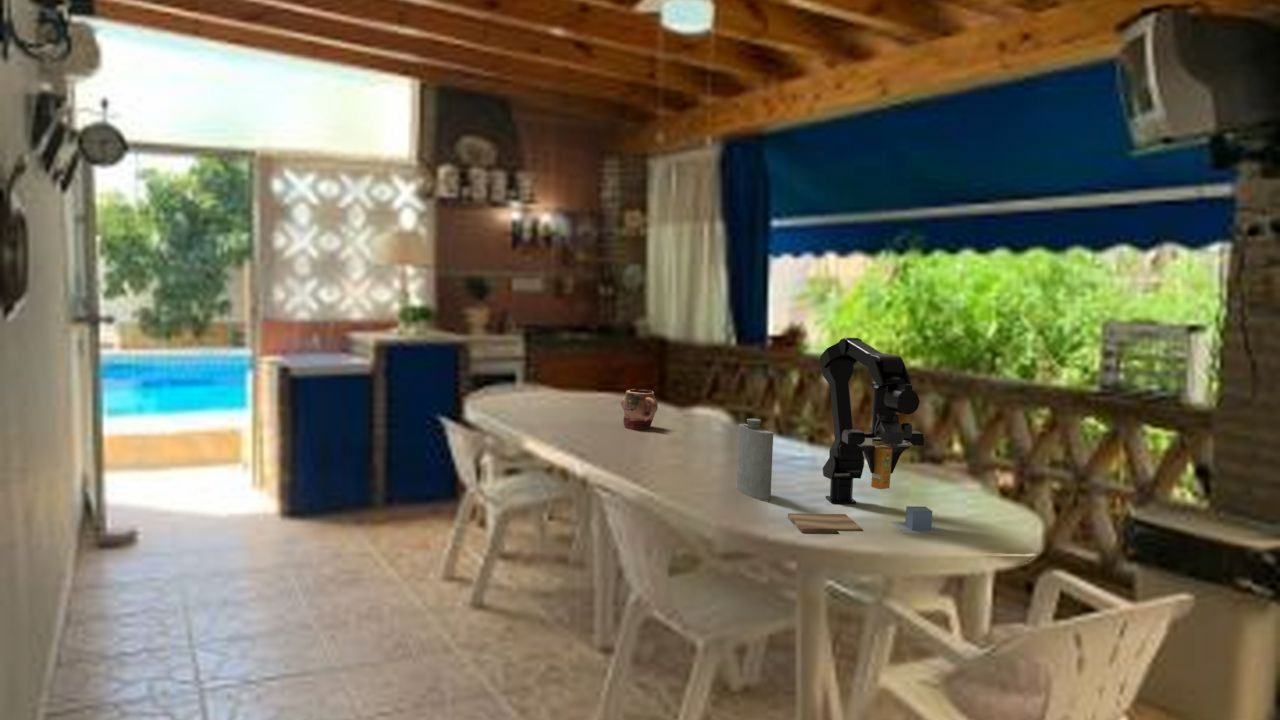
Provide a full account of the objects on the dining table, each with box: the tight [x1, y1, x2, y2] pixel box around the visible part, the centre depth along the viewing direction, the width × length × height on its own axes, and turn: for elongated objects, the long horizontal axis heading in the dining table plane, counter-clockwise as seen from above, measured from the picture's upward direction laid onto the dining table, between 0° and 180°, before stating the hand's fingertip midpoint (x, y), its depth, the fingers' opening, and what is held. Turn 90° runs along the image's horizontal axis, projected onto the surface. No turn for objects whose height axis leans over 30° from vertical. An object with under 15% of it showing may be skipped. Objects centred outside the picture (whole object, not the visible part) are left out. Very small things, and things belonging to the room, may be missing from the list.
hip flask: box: [736, 418, 774, 502], centre depth 265 cm, size 16×4×20 cm, turn 20°
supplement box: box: [870, 444, 893, 490], centre depth 241 cm, size 3×3×10 cm
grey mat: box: [889, 521, 948, 535], centre depth 232 cm, size 10×10×1 cm
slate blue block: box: [905, 505, 933, 531], centre depth 232 cm, size 4×4×4 cm
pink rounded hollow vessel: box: [620, 388, 659, 430], centre depth 370 cm, size 20×12×14 cm, turn 36°
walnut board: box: [787, 512, 863, 534], centre depth 235 cm, size 14×14×1 cm
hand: (881, 473), depth 241 cm, fingers closed on supplement box, 4 cm apart
